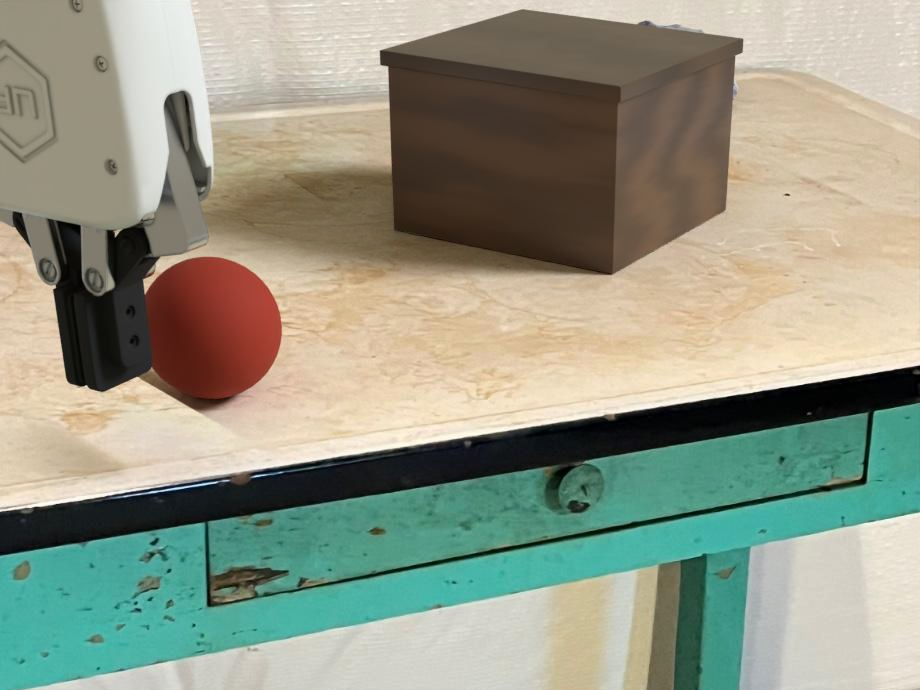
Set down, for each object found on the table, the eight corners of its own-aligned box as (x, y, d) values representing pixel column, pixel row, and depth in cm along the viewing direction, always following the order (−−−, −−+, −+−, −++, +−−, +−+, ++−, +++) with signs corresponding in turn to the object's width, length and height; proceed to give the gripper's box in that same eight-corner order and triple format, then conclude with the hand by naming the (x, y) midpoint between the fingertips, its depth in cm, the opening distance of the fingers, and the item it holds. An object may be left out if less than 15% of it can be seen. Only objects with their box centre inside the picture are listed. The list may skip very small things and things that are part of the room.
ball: (159, 428, 71) (144, 290, 68) (134, 377, 75) (119, 246, 72) (301, 409, 73) (292, 274, 70) (268, 361, 77) (258, 232, 74)
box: (614, 277, 89) (620, 86, 84) (385, 230, 95) (379, 50, 90) (732, 209, 100) (744, 38, 95) (521, 171, 106) (521, 8, 101)
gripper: (-194, -125, 59) (-96, 371, 68) (132, -92, 53) (192, 451, 62) (-27, -143, 65) (43, 317, 74) (284, -115, 58) (319, 384, 67)
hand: (111, 376), depth 68 cm, fingers closed
